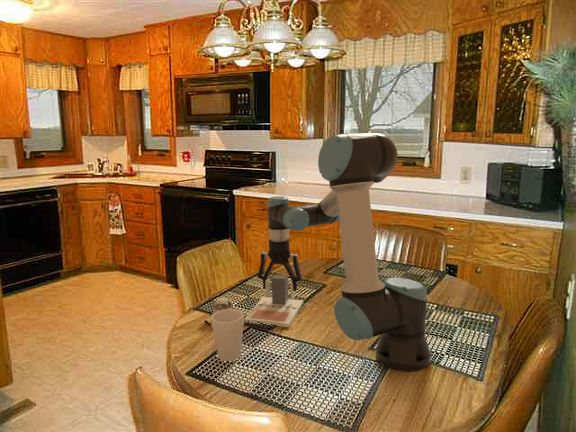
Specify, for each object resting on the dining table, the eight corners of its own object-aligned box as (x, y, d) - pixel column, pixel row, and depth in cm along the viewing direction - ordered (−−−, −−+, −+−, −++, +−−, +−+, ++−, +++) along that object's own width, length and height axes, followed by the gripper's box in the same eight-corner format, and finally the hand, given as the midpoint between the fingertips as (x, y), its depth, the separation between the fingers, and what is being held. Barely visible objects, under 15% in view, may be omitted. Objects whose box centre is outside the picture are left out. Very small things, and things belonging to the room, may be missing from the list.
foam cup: (230, 345, 134) (228, 306, 131) (252, 355, 128) (250, 314, 126) (206, 358, 127) (204, 317, 124) (228, 369, 121) (226, 326, 118)
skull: (237, 325, 146) (216, 303, 145) (217, 343, 148) (196, 321, 147) (246, 309, 157) (226, 289, 156) (226, 326, 160) (207, 306, 159)
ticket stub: (298, 311, 158) (298, 281, 155) (257, 307, 162) (256, 278, 160) (303, 304, 164) (303, 275, 162) (263, 300, 168) (262, 272, 166)
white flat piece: (288, 328, 145) (288, 323, 145) (244, 323, 149) (243, 318, 149) (298, 312, 157) (298, 308, 157) (256, 308, 162) (256, 304, 161)
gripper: (310, 238, 158) (310, 296, 163) (254, 235, 164) (256, 291, 169) (305, 243, 151) (306, 304, 156) (247, 240, 157) (249, 298, 162)
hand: (280, 297), depth 162 cm, fingers open, 9 cm apart
